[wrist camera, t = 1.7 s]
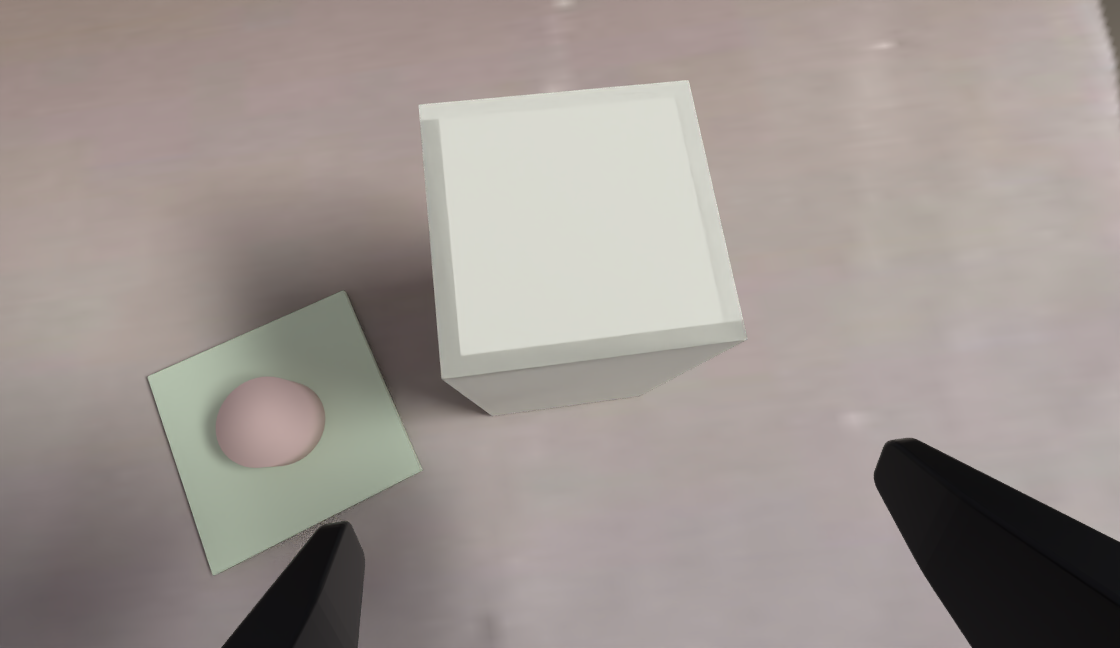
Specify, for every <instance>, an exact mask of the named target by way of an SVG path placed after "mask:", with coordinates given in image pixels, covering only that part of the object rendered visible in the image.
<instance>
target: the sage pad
mask: <svg viewBox="0 0 1120 648" xmlns="http://www.w3.org/2000/svg"><path fill="white" fill-rule="evenodd" d="M259 377H277V378H281V379H285V380H289V381H293V382H296V383H300V384H303V385H305V386H307V387H309V388H310V389H311V390H313V391H314V392H315V393H316V394H317V396H318V397H319V398H320V400H321V402H322V404H323V407H324V411H325V426H324V431H323V434H322V436H321V439H320V440H319V442H318V444H317V445H316V447H315V448H314V449H313V450H312V451H311V452H310V453H309V454H308V455H307V456H306V457H304V458H303V459H301V460H299V461H297V462H295V463H293V464H290V465H285V466H276V467H262V468H250V467H245V466H242V465H239V464H237V463H235V462H233V461H232V460H231V459H229V458H228V457H227V456H226V455H225V454H224V452H223V451H222V450H221V448H220V446H219V443H218V440H217V436H216V420H217V415H218V412H219V410H220V407H221V405H222V404H223V402H224V400H225V399H226V398H227V396H228V395H229V394H230V393H231V392H232V391H233V390H234V389H235V388H237V387H238V386H239V385H241V384H243V383H244V382H247V381H249V380H251V379H254V378H259ZM148 380H149V383H150V386H151V389H152V392H153V395H154V398H155V401H156V404H157V407H158V411H159V414H160V417H161V420H162V423H163V426H164V429H165V432H166V435H167V438H168V441H169V444H170V447H171V450H172V453H173V456H174V459H175V462H176V465H177V468H178V471H179V474H180V477H181V480H182V483H183V486H184V490H185V493H186V496H187V499H188V502H189V505H190V508H191V511H192V514H193V517H194V520H195V523H196V526H197V529H198V532H199V535H200V538H201V541H202V544H203V547H204V550H205V553H206V556H207V559H208V562H209V566H210V569H211V572H212V575H213V576H214V575H216V574H219V573H221V572H223V571H225V570H227V569H229V568H231V567H233V566H235V565H237V564H239V563H241V562H243V561H244V560H246V559H248V558H250V557H252V556H254V555H256V554H258V553H260V552H262V551H264V550H266V549H268V548H270V547H272V546H274V545H276V544H278V543H280V542H282V541H284V540H286V539H288V538H290V537H292V536H294V535H296V534H298V533H300V532H302V531H304V530H306V529H308V528H310V527H312V526H314V525H316V524H318V523H320V522H322V521H324V520H326V519H328V518H330V517H332V516H333V515H335V514H337V513H339V512H341V511H343V510H345V509H347V508H349V507H351V506H353V505H355V504H357V503H359V502H361V501H363V500H365V499H367V498H369V497H371V496H373V495H375V494H377V493H379V492H381V491H383V490H385V489H387V488H389V487H391V486H393V485H395V484H397V483H399V482H401V481H403V480H405V479H407V478H409V477H411V476H413V475H415V474H417V473H419V472H421V471H423V470H422V468H421V465H420V463H419V461H418V458H417V456H416V454H415V451H414V449H413V447H412V444H411V442H410V440H409V437H408V435H407V433H406V430H405V428H404V426H403V423H402V421H401V419H400V416H399V414H398V412H397V410H396V407H395V405H394V403H393V400H392V398H391V396H390V393H389V391H388V389H387V386H386V384H385V382H384V379H383V377H382V375H381V372H380V370H379V368H378V365H377V363H376V361H375V358H374V356H373V354H372V351H371V349H370V347H369V344H368V342H367V340H366V337H365V335H364V333H363V330H362V328H361V326H360V323H359V321H358V319H357V316H356V314H355V312H354V309H353V307H352V305H351V302H350V300H349V298H348V295H347V293H346V292H345V291H344V290H343V291H340V292H338V293H336V294H334V295H331V296H329V297H327V298H325V299H322V300H320V301H318V302H315V303H313V304H311V305H309V306H306V307H304V308H302V309H300V310H297V311H295V312H293V313H291V314H288V315H286V316H284V317H281V318H279V319H277V320H275V321H272V322H270V323H268V324H266V325H263V326H261V327H259V328H257V329H254V330H252V331H250V332H247V333H245V334H243V335H241V336H238V337H236V338H234V339H232V340H229V341H227V342H225V343H223V344H220V345H218V346H216V347H213V348H211V349H209V350H207V351H204V352H202V353H200V354H198V355H195V356H193V357H191V358H189V359H186V360H184V361H182V362H179V363H177V364H175V365H173V366H170V367H168V368H166V369H164V370H161V371H159V372H157V373H154V374H152V375H150V376H148Z"/></svg>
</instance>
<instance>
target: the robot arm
mask: <svg viewBox="0 0 1120 648" xmlns="http://www.w3.org/2000/svg"><path fill="white" fill-rule="evenodd" d="M874 482H875V485H876V487H877V490H878V491H879V493H880V495H881V497H882V499H883V501H884V503H885V504H886V506H887V508H888V510H889V512H890V514H891V516H892V518H893V519H894V521H895V523H896V525H897V527H898V529H899V531H900V532H901V534H902V536H903V538H904V540H905V542H906V544H907V545H908V547H909V549H910V551H911V553H912V555H913V557H914V558H915V560H916V562H917V564H918V565H919V567H920V569H921V571H922V572H923V574H924V576H925V577H926V579H927V580H928V582H929V583H930V585H931V587H932V588H933V590H934V591H935V593H936V594H937V596H938V597H939V599H940V600H941V602H942V603H943V605H944V606H945V608H946V609H947V611H948V612H949V614H950V615H951V617H952V618H953V620H954V621H955V623H956V624H957V626H958V627H959V629H960V630H961V632H962V633H963V635H964V636H965V638H966V639H967V641H968V643H969V644H970V646H971V647H972V648H1120V542H1119V541H1117V540H1115V539H1113V538H1111V537H1109V536H1107V535H1105V534H1103V533H1101V532H1099V531H1097V530H1095V529H1093V528H1091V527H1089V526H1087V525H1085V524H1083V523H1081V522H1079V521H1077V520H1075V519H1073V518H1071V517H1069V516H1067V515H1065V514H1063V513H1061V512H1059V511H1057V510H1055V509H1053V508H1051V507H1049V506H1047V505H1046V504H1044V503H1042V502H1040V501H1038V500H1036V499H1034V498H1032V497H1030V496H1028V495H1026V494H1024V493H1022V492H1020V491H1018V490H1016V489H1014V488H1012V487H1010V486H1008V485H1006V484H1004V483H1002V482H1000V481H998V480H996V479H994V478H992V477H990V476H988V475H986V474H984V473H982V472H980V471H978V470H976V469H974V468H972V467H970V466H968V465H967V464H965V463H963V462H961V461H959V460H957V459H955V458H953V457H951V456H949V455H947V454H945V453H943V452H941V451H939V450H937V449H935V448H933V447H931V446H929V445H927V444H925V443H923V442H921V441H919V440H917V439H914V438H902V439H895V440H890V441H888V442H887V443H885V445H884V447H883V449H882V452H881V455H880V457H879V460H878V463H877V466H876V468H875V471H874ZM364 570H365V558H364V553H363V550H362V547H361V545H360V543H359V541H358V538H357V536H356V534H355V532H354V529H353V527H352V525H351V524H350V523H349V522H347V521H342V522H335V523H328V524H324V525H322V526H321V527H319V528H318V529H317V530H316V532H315V533H314V534H313V535H312V537H311V538H310V539H309V540H308V541H307V543H306V544H305V545H304V546H303V548H302V549H301V550H300V551H299V553H298V554H297V555H296V556H295V557H294V559H293V560H292V561H291V562H290V564H289V565H288V566H287V567H286V569H285V570H284V571H283V572H282V573H281V575H280V576H279V577H278V578H277V580H276V581H275V582H274V583H273V585H272V586H271V587H270V588H269V589H268V591H267V592H266V593H265V594H264V596H263V597H262V598H261V599H260V601H259V602H258V603H257V604H256V605H255V607H254V608H253V609H252V610H251V612H250V613H249V614H248V615H247V617H246V618H245V619H244V620H243V621H242V623H241V624H240V625H239V626H238V628H237V629H236V630H235V631H234V633H233V634H232V635H231V636H230V637H229V639H228V640H227V641H226V642H225V644H224V645H223V646H222V647H221V648H358V637H359V626H360V615H361V603H362V592H363V581H364Z"/></svg>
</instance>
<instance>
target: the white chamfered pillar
mask: <svg viewBox="0 0 1120 648" xmlns="http://www.w3.org/2000/svg"><path fill="white" fill-rule="evenodd" d="M419 114H420V126H421V138H422V150H423V162H424V174H425V186H426V198H427V210H428V222H429V234H430V246H431V258H432V270H433V282H434V294H435V306H436V318H437V330H438V342H439V354H440V366H441V378H442V380H443V381H445V382H446V383H448V384H449V385H450V386H452V387H453V388H454V389H456V390H457V391H459V392H460V393H461V394H463V395H464V396H465V397H467V398H468V399H470V400H471V401H472V402H474V403H475V404H476V405H478V406H479V407H481V408H482V409H483V410H485V411H486V412H487V413H489V414H490V415H492V416H497V415H505V414H512V413H520V412H527V411H534V410H542V409H549V408H557V407H564V406H571V405H579V404H586V403H593V402H601V401H608V400H616V399H623V398H630V397H638V396H641V395H643V394H645V393H647V392H649V391H651V390H653V389H655V388H657V387H659V386H660V385H662V384H664V383H666V382H668V381H670V380H672V379H674V378H676V377H677V376H679V375H681V374H683V373H685V372H687V371H689V370H691V369H693V368H695V367H696V366H698V365H700V364H702V363H704V362H706V361H708V360H710V359H712V358H714V357H715V356H717V355H719V354H721V353H723V352H725V351H727V350H729V349H731V348H732V347H734V346H736V345H738V344H740V343H742V342H744V341H746V340H747V335H746V331H745V326H744V322H743V318H742V313H741V309H740V304H739V300H738V296H737V291H736V287H735V282H734V278H733V274H732V269H731V265H730V260H729V256H728V252H727V247H726V243H725V238H724V234H723V230H722V225H721V221H720V216H719V212H718V208H717V203H716V199H715V194H714V190H713V186H712V181H711V177H710V172H709V168H708V164H707V159H706V155H705V150H704V146H703V142H702V137H701V133H700V128H699V124H698V120H697V115H696V111H695V106H694V102H693V98H692V93H691V89H690V84H689V80H685V81H674V82H663V83H652V84H641V85H630V86H619V87H608V88H597V89H586V90H575V91H564V92H553V93H542V94H531V95H520V96H509V97H498V98H487V99H476V100H465V101H454V102H443V103H432V104H421V105H419Z"/></svg>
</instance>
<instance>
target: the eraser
mask: <svg viewBox="0 0 1120 648" xmlns="http://www.w3.org/2000/svg"><path fill="white" fill-rule="evenodd" d="M324 426H325V411H324V407H323V404H322V402H321V400H320V398H319V397H318V396H317V394H316V393H315V392H314V391H313V390H311V389H310V388H309V387H307V386H305V385H303V384H300V383H296V382H293V381H289V380H285V379H281V378H277V377H259V378H254V379H251V380H249V381H247V382H244V383H243V384H241V385H239V386H238V387H237V388H235V389H234V390H233V391H232V392H231V393H230V394H229V395H228V396H227V398H226V399H225V400H224V402H223V404H222V405H221V407H220V410H219V412H218V415H217V420H216V436H217V440H218V443H219V446H220V448H221V450H222V451H223V452H224V454H225V455H226V456H227V457H228V458H229V459H231V460H232V461H233V462H235V463H237V464H239V465H242V466H245V467H250V468H262V467H276V466H285V465H290V464H293V463H295V462H297V461H299V460H301V459H303V458H304V457H306V456H307V455H308V454H309V453H310V452H311V451H312V450H313V449H314V448H315V447H316V445H317V444H318V442H319V440H320V439H321V436H322V434H323V431H324Z"/></svg>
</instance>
